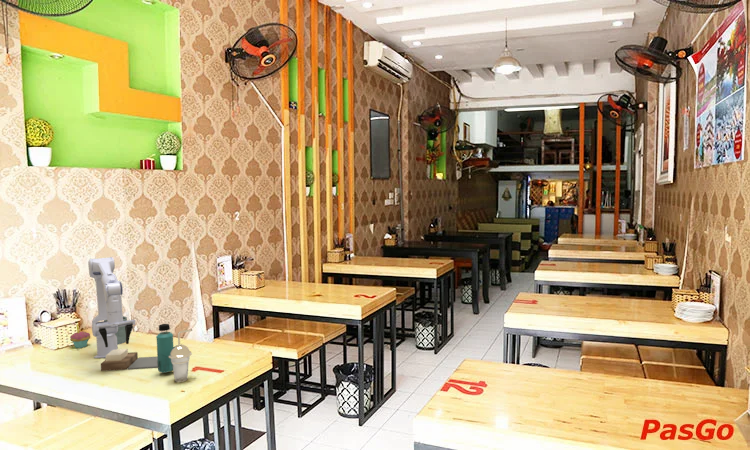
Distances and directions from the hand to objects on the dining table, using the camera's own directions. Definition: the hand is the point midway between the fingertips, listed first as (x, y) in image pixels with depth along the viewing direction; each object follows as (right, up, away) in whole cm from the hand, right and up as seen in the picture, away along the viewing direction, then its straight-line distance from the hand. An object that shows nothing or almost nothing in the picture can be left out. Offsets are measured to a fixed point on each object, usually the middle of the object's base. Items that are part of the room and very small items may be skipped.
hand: (117, 345), depth 214 cm
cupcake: (-35, -9, +36) cm, 52 cm away
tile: (-4, -6, +8) cm, 10 cm away
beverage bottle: (+22, -11, -4) cm, 25 cm away
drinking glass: (-21, -9, +42) cm, 48 cm away
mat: (+9, -10, +9) cm, 16 cm away
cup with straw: (+31, -11, -12) cm, 35 cm away
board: (-3, -10, +8) cm, 13 cm away
